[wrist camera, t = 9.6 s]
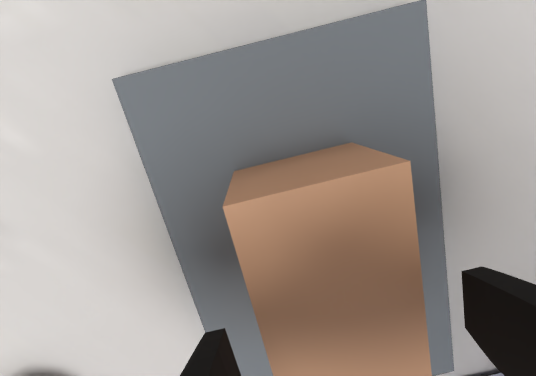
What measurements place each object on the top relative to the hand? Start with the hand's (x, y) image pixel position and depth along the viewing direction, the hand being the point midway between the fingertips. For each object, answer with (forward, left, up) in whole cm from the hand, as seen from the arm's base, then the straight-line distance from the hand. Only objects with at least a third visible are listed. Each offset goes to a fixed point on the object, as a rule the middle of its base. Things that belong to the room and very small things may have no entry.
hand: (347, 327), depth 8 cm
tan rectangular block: (0, 0, -5) cm, 5 cm away
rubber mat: (0, 0, -6) cm, 6 cm away
